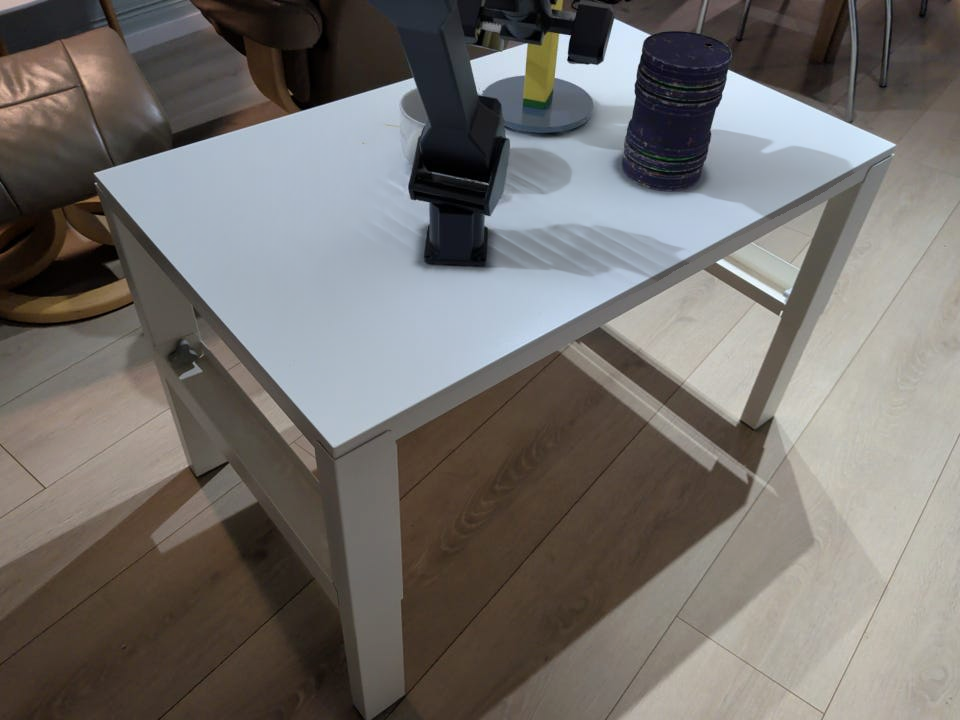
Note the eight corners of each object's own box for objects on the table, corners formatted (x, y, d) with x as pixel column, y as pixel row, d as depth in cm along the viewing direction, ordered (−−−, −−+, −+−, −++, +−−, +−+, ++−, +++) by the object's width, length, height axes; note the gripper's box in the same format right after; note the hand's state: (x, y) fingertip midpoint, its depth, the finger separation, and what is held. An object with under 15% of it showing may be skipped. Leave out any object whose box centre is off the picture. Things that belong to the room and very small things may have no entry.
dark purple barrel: (649, 198, 93) (675, 74, 82) (604, 158, 99) (624, 37, 89) (718, 181, 96) (752, 59, 86) (671, 143, 102) (697, 25, 92)
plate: (595, 140, 102) (597, 130, 101) (478, 134, 102) (479, 124, 101) (588, 87, 113) (589, 77, 112) (482, 82, 113) (483, 72, 112)
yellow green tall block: (552, 95, 108) (563, -9, 98) (544, 109, 105) (554, 3, 95) (531, 91, 108) (540, -13, 99) (522, 105, 105) (530, 0, 96)
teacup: (438, 134, 102) (437, 74, 96) (508, 162, 97) (512, 100, 92) (365, 180, 93) (360, 117, 88) (439, 213, 89) (438, 148, 83)
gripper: (625, -72, 82) (627, 2, 98) (454, -95, 86) (481, -20, 101) (599, 32, 82) (604, 90, 98) (429, 5, 86) (460, 65, 101)
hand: (537, 53), depth 99 cm, fingers open, 9 cm apart
